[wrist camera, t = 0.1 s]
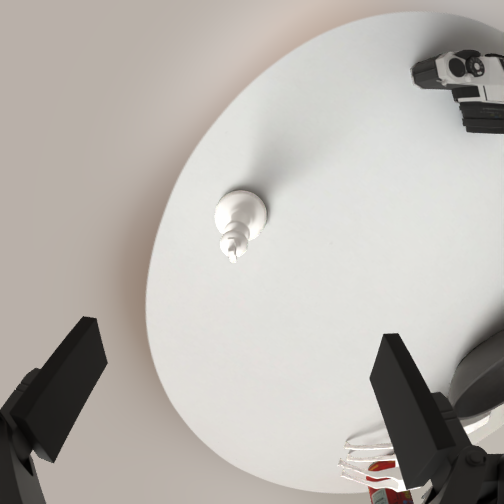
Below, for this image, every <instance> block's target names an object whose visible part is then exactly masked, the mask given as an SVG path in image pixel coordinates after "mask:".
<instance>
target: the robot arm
mask: <svg viewBox="0 0 504 504" xmlns="http://www.w3.org/2000/svg"><path fill="white" fill-rule="evenodd" d="M107 363H108V362H107V359H106V355H105V351H104V348H103V344H102V340H101V336H100V332H99V328H98V323H97V319H96V318H90V317H84V316H83V317H82V318H81V319H80V321H79V322H78V323H77V324H76V326H75V327H74V328H73V329H72V330H71V331H70V333H69V334H68V335H67V336H66V338H65V339H64V340H63V341H62V343H61V344H60V345H59V346H58V348H57V349H56V350H55V352H54V353H53V354H52V355H51V357H50V358H49V359H48V361H47V362H46V363H45V364H44V366H43V367H42V368H41V369H38V368H35V369H33V370H32V371H31V372H29V373H28V374H27V375H26V376H25V377H24V378H23V380H22V381H21V384H19V385H18V386H17V388H16V390H14V392H13V393H12V394H11V396H10V397H9V398H8V400H7V401H6V402H5V404H4V405H3V407H2V408H1V409H0V504H46V502H45V499H44V496H43V493H42V490H41V487H40V483H39V480H38V477H37V473H36V470H35V466H34V463H33V459H32V457H31V455H30V453H31V452H32V450H34V451H35V453H36V454H37V456H38V457H39V458H41V459H44V460H46V461H49V462H51V463H54V462H55V460H56V458H57V456H58V454H59V452H60V450H61V448H62V446H63V444H64V442H65V440H66V438H67V436H68V434H69V432H70V431H71V429H72V427H73V425H74V423H75V421H76V419H77V417H78V415H79V413H80V412H81V410H82V408H83V406H84V404H85V403H86V401H87V399H88V397H89V395H90V393H91V391H92V390H93V388H94V386H95V385H96V383H97V381H98V379H99V378H100V376H101V374H102V372H103V371H104V369H105V367H106V365H107ZM369 379H370V381H371V384H372V387H373V390H374V393H375V395H376V398H377V401H378V404H379V407H380V410H381V413H382V416H383V418H384V421H385V424H386V427H387V430H388V433H389V436H390V439H391V443H392V446H393V449H394V452H395V455H396V458H397V461H398V465H399V468H400V471H401V475H402V478H403V481H404V485H405V488H406V490H409V489H413V488H418V487H422V486H424V485H425V484H426V483H427V481H428V480H429V479H431V482H432V485H433V486H431V487H430V489H429V490H428V491H427V492H426V493H425V494H424V495H423V496H422V499H424V498H425V499H424V501H423V503H422V504H504V454H487V453H486V452H485V450H483V449H482V448H481V447H479V446H474V445H472V444H471V442H470V440H469V438H468V436H467V434H466V432H465V430H464V428H463V426H462V424H461V422H460V420H459V418H457V415H456V413H455V411H453V407H452V405H451V403H450V402H449V400H448V399H447V398H446V397H445V396H444V395H443V394H442V393H441V392H437V393H431V392H430V390H429V388H428V386H427V385H426V383H425V381H424V379H423V377H422V375H421V373H420V371H419V370H418V368H417V366H416V364H415V362H414V360H413V359H412V357H411V355H410V353H409V351H408V350H407V348H406V346H405V344H404V343H403V341H402V339H401V337H400V336H399V334H398V333H393V334H383V337H382V340H381V344H380V347H379V350H378V354H377V357H376V360H375V363H374V366H373V369H372V372H371V375H370V378H369Z"/></svg>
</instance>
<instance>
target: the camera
mask: <svg viewBox="0 0 504 504" xmlns="http://www.w3.org/2000/svg"><path fill="white" fill-rule="evenodd" d="M410 70H411V75H412V81H413V84H414V85H416V86H417V87H419V88H420V89H444V90H452V94H453V98H454V101H455V102H456V103H460V106H459V108H460V110H462V113H463V118H464V119H462V121H463V126H466V131H467V132H472V133H491V134H504V56H502V55H498V54H492V53H491V54H486V55H485V56H481V54H480V52H478V51H475V50H462V51H459V52H447V53H444V54H440V55H438V56H436V57H433V58H430V59H427V60H425V61H422V62H418V63H417V64H415V65H414V66H413V67H412V68H411V69H410Z"/></svg>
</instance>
